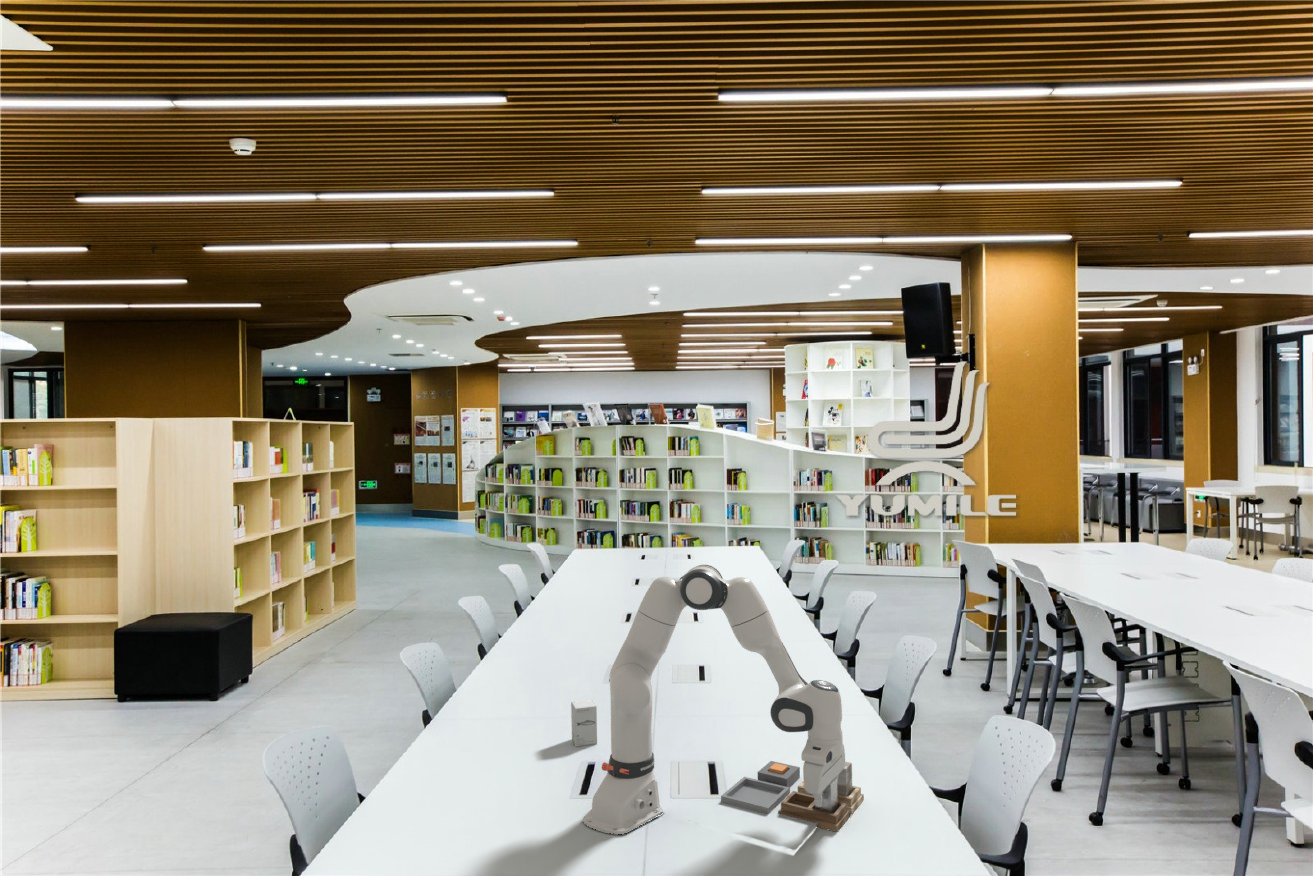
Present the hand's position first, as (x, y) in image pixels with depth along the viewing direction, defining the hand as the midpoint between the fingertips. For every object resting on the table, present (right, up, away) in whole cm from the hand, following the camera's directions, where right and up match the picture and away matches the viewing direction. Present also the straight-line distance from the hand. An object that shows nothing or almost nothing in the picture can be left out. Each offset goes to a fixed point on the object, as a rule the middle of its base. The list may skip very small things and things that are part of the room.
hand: (826, 798), depth 209 cm
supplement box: (-68, -7, +56) cm, 88 cm away
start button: (-9, -4, +22) cm, 24 cm away
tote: (-17, -6, +12) cm, 21 cm away
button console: (-9, -6, +22) cm, 24 cm away
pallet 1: (+3, -5, +11) cm, 13 cm away
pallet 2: (-3, -6, +2) cm, 7 cm away
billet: (0, -4, 0) cm, 4 cm away
